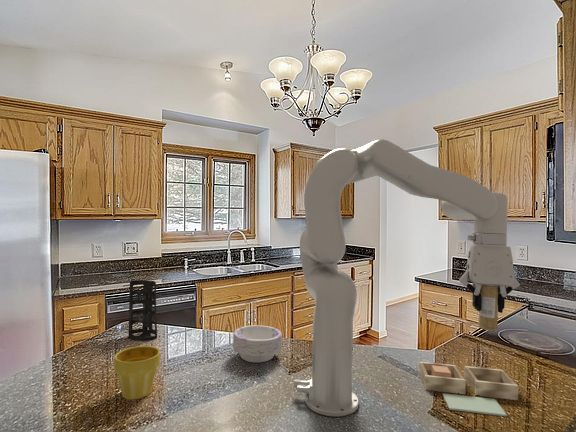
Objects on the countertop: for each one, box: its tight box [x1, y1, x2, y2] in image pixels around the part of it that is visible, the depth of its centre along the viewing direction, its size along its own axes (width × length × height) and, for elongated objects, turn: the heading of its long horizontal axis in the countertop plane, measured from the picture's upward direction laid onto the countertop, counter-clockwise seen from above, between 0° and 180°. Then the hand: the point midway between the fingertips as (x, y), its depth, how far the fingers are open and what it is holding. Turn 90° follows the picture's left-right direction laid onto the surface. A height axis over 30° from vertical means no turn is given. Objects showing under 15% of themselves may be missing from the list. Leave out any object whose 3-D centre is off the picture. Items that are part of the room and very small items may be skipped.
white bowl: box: [232, 324, 283, 364], centre depth 109 cm, size 15×15×8 cm
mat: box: [442, 392, 508, 417], centre depth 83 cm, size 12×7×1 cm, turn 78°
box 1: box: [418, 361, 467, 395], centre depth 93 cm, size 10×10×4 cm
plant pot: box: [113, 345, 161, 401], centre depth 85 cm, size 10×10×10 cm
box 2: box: [463, 365, 519, 401], centre depth 91 cm, size 10×10×4 cm
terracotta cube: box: [431, 365, 451, 378], centre depth 93 cm, size 4×4×4 cm
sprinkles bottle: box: [477, 285, 499, 332], centre depth 90 cm, size 5×5×13 cm
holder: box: [128, 279, 158, 341], centre depth 125 cm, size 11×8×20 cm
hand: (488, 309), depth 90 cm, fingers closed on sprinkles bottle, 4 cm apart
